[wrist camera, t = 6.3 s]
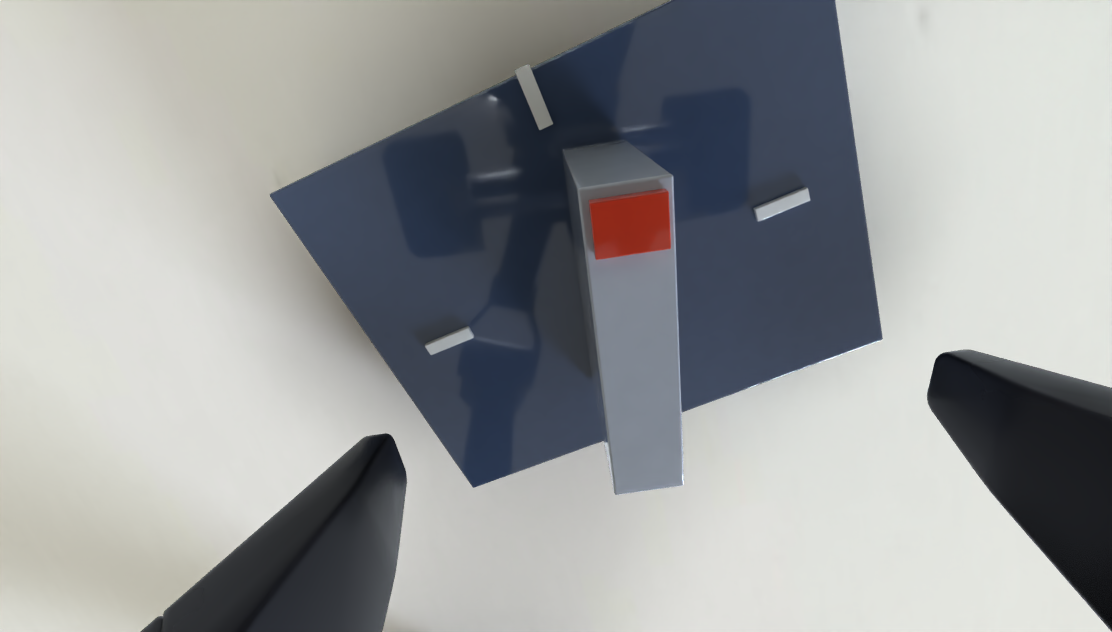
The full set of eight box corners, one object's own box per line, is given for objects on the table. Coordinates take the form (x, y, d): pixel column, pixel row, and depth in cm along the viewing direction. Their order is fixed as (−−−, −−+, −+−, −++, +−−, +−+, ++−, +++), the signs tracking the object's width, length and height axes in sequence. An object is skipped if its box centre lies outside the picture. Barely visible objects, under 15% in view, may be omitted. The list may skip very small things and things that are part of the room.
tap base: (481, 433, 20) (474, 494, 17) (312, 169, 15) (262, 192, 12) (830, 301, 18) (887, 345, 15) (764, -50, 13) (828, -82, 10)
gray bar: (643, 376, 15) (687, 494, 11) (592, 383, 15) (616, 504, 11) (625, 138, 12) (677, 176, 8) (561, 149, 12) (578, 192, 8)
